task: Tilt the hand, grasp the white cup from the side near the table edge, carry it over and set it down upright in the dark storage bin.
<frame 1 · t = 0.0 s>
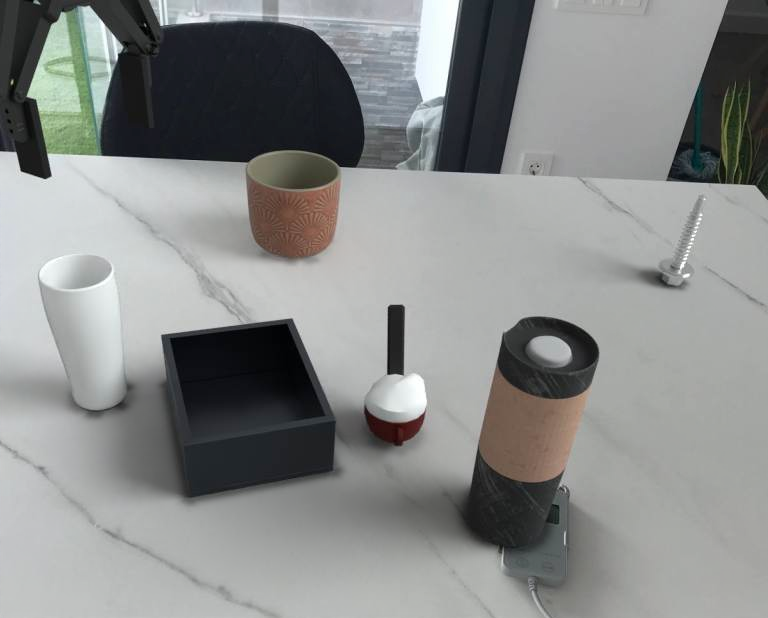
hand: (92, 148, 71), 24 cm above the table, tool pointing down, fingers open, 13 cm apart
white cup: (101, 397, 80), on the table
travel mug: (504, 518, 72), on the table
planter: (293, 244, 108), on the table
cocoa: (393, 429, 80), on the table
dark storage bin: (246, 425, 78), on the table
screw: (671, 282, 108), on the table
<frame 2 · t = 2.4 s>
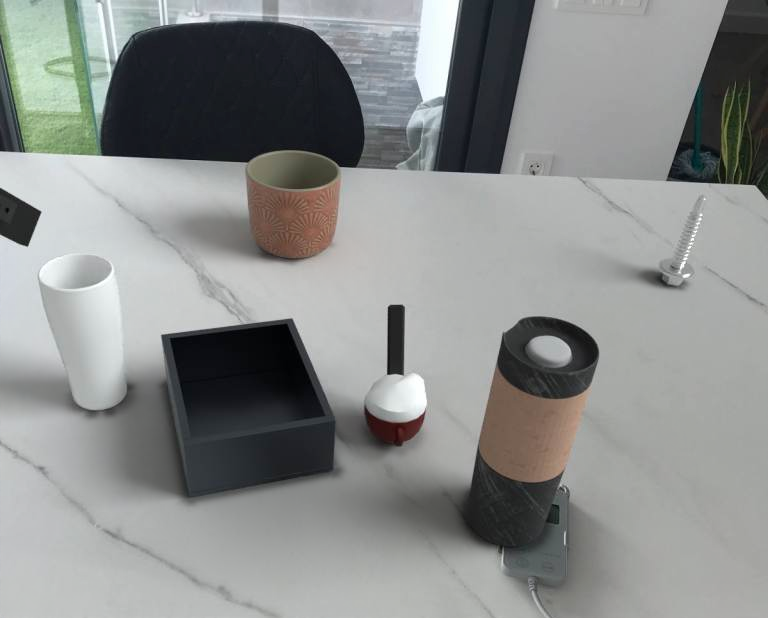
nothing on the table moved.
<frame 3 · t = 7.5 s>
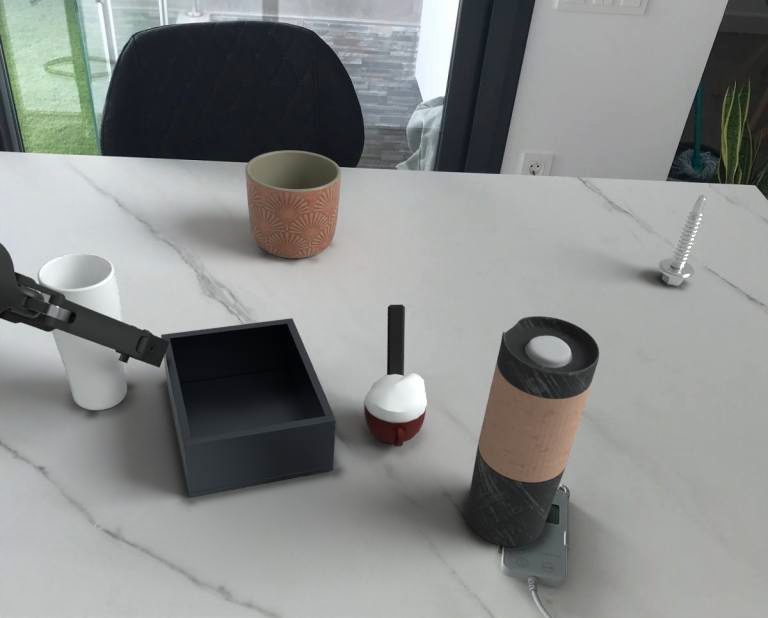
hand: (107, 334, 77), 7 cm above the table, tool tilted 45°, fingers open, 12 cm apart
nothing on the table moved.
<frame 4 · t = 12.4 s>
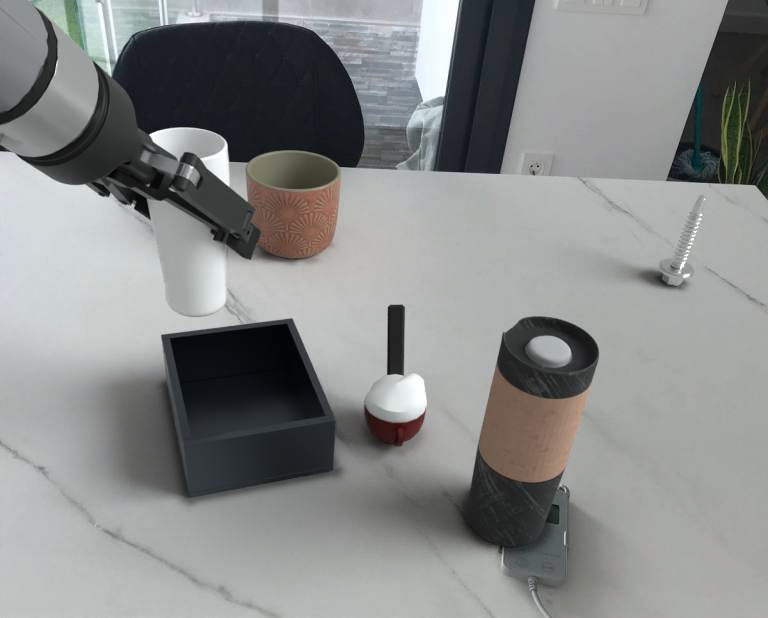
hand: (216, 233, 69), 19 cm above the table, tool tilted 45°, fingers closed on white cup, 7 cm apart
white cup: (197, 305, 70), point 14 cm above the table, touching gripper
everything else where it was.
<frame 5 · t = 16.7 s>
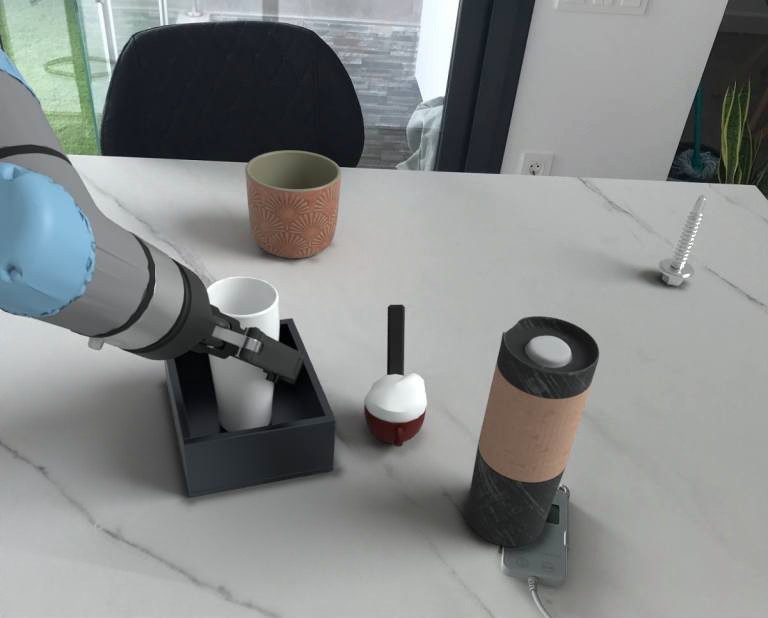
hand: (263, 359, 77), 6 cm above the table, tool tilted 45°, fingers closed on white cup, 7 cm apart
white cup: (245, 422, 78), resting in dark storage bin, touching gripper
everything else where it was.
when the fingers open (6 cm above the table, at t = 16.8 s): white cup stays where it is, resting on dark storage bin.
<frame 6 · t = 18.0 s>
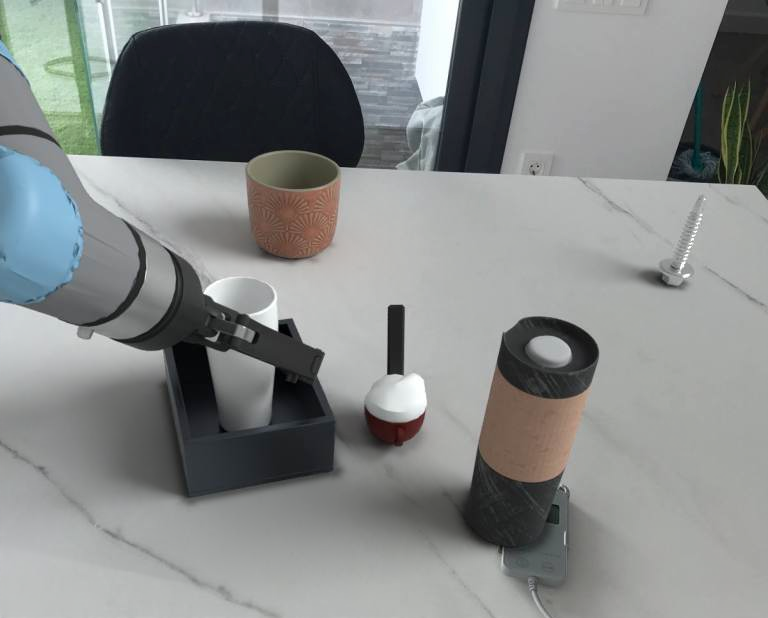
hand: (250, 348, 74), 9 cm above the table, tool tilted 45°, fingers open, 13 cm apart
white cup: (245, 422, 78), resting on dark storage bin
everything else where it was.
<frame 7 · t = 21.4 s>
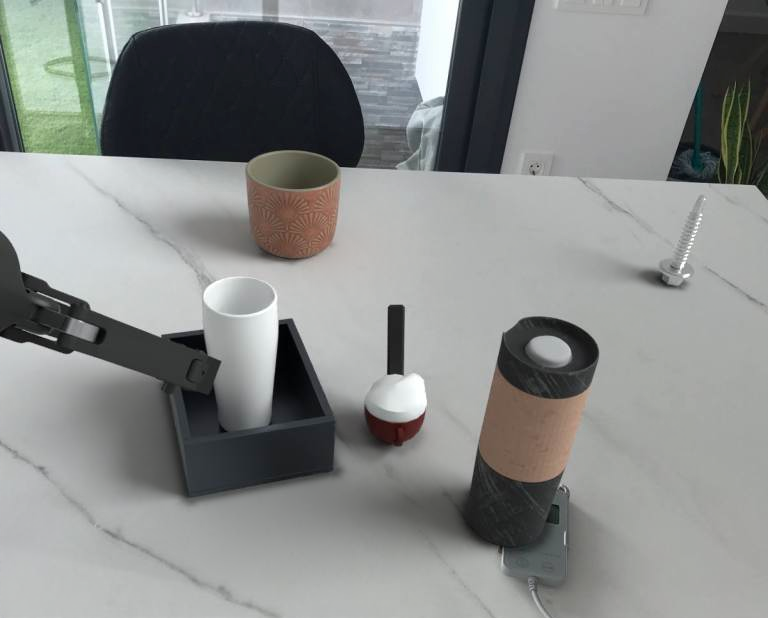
hand: (135, 348, 59), 17 cm above the table, tool tilted 45°, fingers open, 13 cm apart
nothing on the table moved.
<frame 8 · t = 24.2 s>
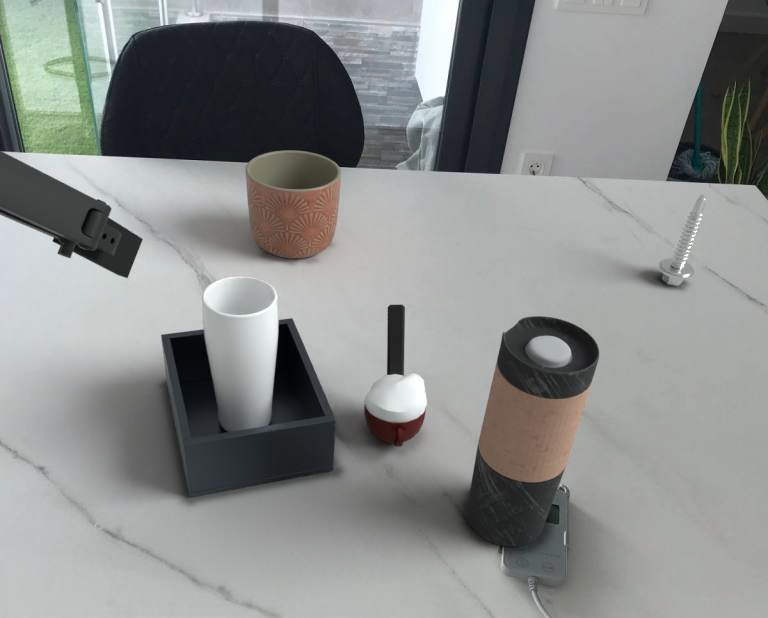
hand: (46, 229, 51), 28 cm above the table, tool tilted 45°, fingers open, 13 cm apart
nothing on the table moved.
at the end: white cup inside the target area in the dark storage bin (0.1 cm from its centre), point 0.4 cm above the dark storage bin's base; white cup tilted 0°; the gripper is holding nothing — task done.
